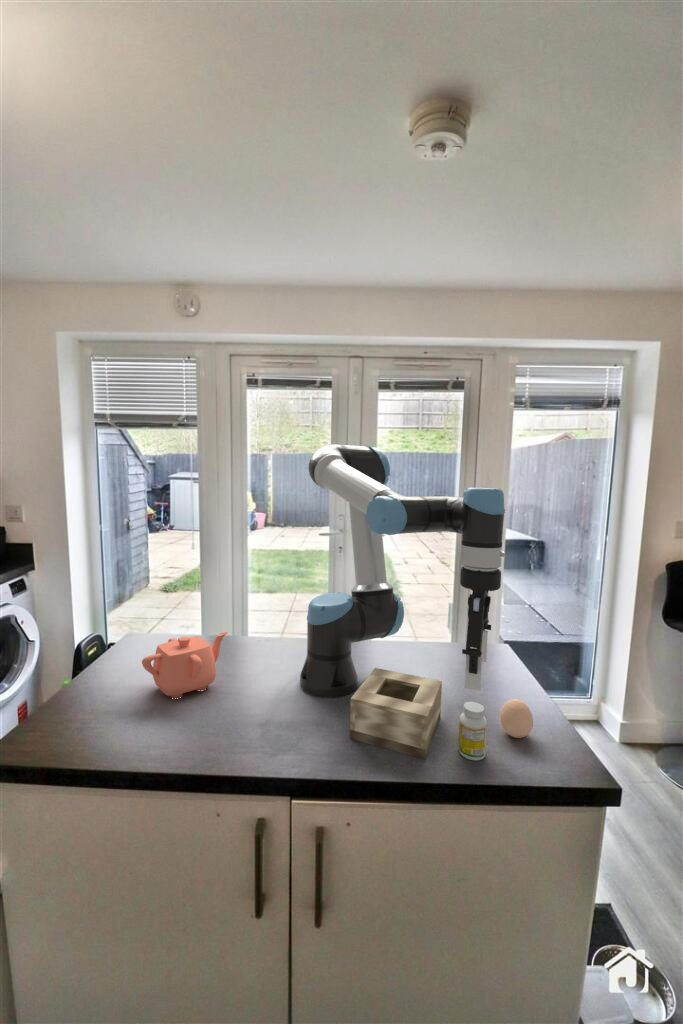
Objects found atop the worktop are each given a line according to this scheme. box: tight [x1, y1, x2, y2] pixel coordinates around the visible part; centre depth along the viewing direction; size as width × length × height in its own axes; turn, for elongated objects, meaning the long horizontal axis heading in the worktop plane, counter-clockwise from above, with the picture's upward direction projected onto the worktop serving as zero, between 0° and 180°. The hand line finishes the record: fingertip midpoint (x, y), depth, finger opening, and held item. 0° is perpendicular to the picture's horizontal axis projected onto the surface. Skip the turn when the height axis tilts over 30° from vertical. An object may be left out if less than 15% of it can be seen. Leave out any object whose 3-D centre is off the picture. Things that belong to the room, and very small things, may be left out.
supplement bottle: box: [457, 701, 488, 761], centre depth 86 cm, size 5×5×10 cm
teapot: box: [141, 631, 228, 699], centre depth 110 cm, size 17×16×13 cm
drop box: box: [349, 667, 443, 760], centre depth 94 cm, size 16×16×9 cm
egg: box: [499, 698, 534, 739], centre depth 92 cm, size 7×7×8 cm
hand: (476, 673), depth 85 cm, fingers open, 13 cm apart
